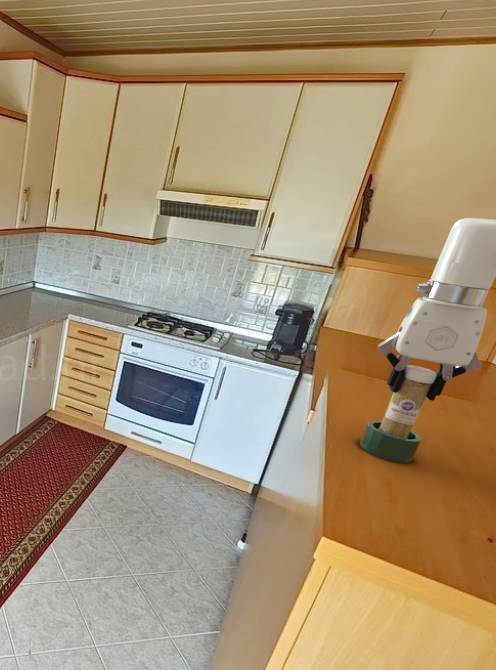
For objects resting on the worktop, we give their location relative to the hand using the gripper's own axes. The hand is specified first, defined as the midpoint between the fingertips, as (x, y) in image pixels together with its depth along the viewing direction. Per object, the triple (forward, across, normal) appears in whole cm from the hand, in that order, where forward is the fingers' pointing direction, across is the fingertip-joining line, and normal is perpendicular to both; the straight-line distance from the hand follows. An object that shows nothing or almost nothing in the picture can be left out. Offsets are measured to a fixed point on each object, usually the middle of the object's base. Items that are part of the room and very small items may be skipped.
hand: (410, 392), depth 88 cm
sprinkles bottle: (+9, 0, 0) cm, 9 cm away
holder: (+12, 0, 0) cm, 12 cm away
